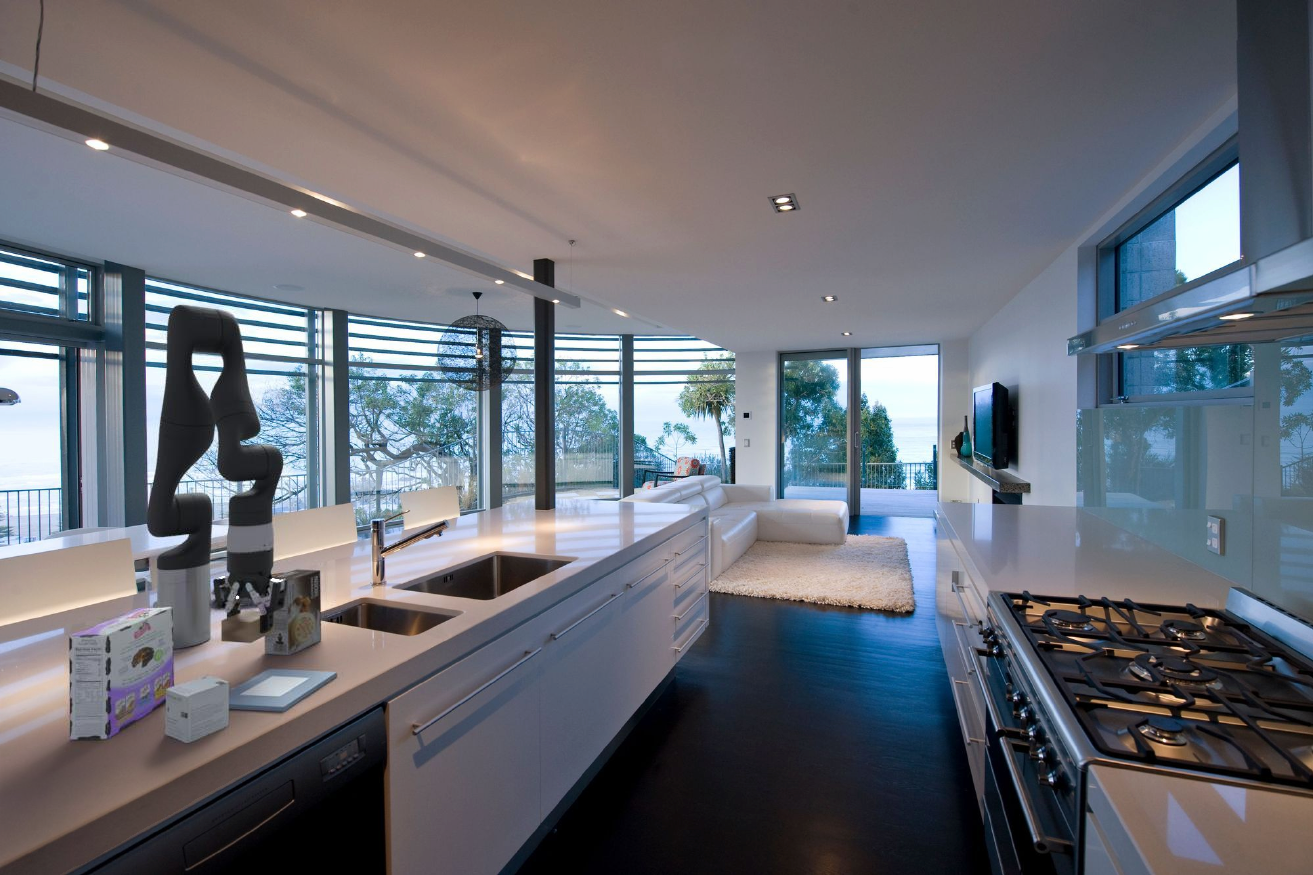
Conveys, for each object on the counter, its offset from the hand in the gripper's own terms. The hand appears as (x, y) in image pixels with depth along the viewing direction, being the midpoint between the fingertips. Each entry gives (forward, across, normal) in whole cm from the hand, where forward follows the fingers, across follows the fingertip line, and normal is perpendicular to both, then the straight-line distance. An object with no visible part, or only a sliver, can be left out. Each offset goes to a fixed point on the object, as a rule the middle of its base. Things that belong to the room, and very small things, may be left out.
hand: (250, 630), depth 113 cm
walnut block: (+1, 0, 0) cm, 1 cm away
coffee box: (+8, 0, +12) cm, 15 cm away
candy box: (+8, -6, -19) cm, 22 cm away
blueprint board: (+8, +12, -8) cm, 16 cm away
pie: (+10, -37, +48) cm, 61 cm away
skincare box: (+8, +10, -22) cm, 25 cm away
